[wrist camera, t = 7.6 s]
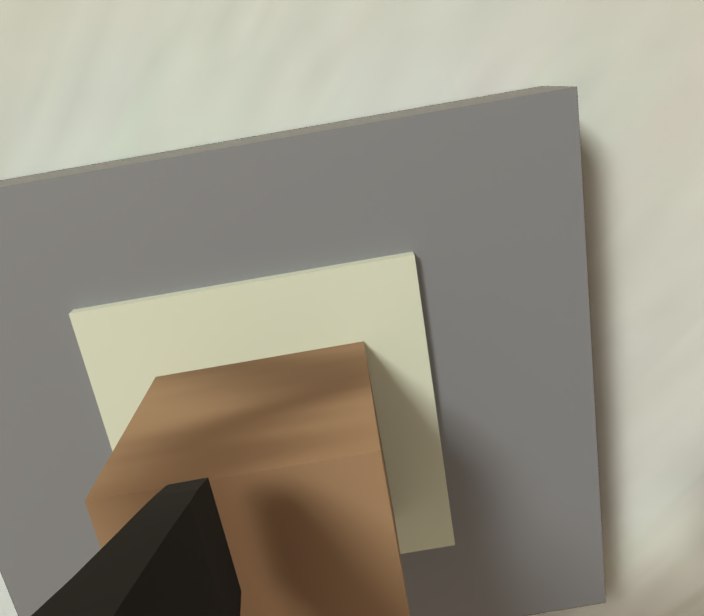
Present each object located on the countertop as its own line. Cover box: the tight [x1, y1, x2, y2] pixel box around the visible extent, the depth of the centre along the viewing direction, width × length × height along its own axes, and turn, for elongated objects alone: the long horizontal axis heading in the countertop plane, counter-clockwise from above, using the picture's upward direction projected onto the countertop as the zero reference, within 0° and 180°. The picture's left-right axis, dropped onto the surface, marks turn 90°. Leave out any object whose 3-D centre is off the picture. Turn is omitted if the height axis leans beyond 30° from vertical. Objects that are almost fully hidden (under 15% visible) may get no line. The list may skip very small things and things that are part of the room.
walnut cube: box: [85, 341, 410, 616], centre depth 14 cm, size 5×5×5 cm
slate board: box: [0, 86, 606, 616], centre depth 18 cm, size 16×14×3 cm
